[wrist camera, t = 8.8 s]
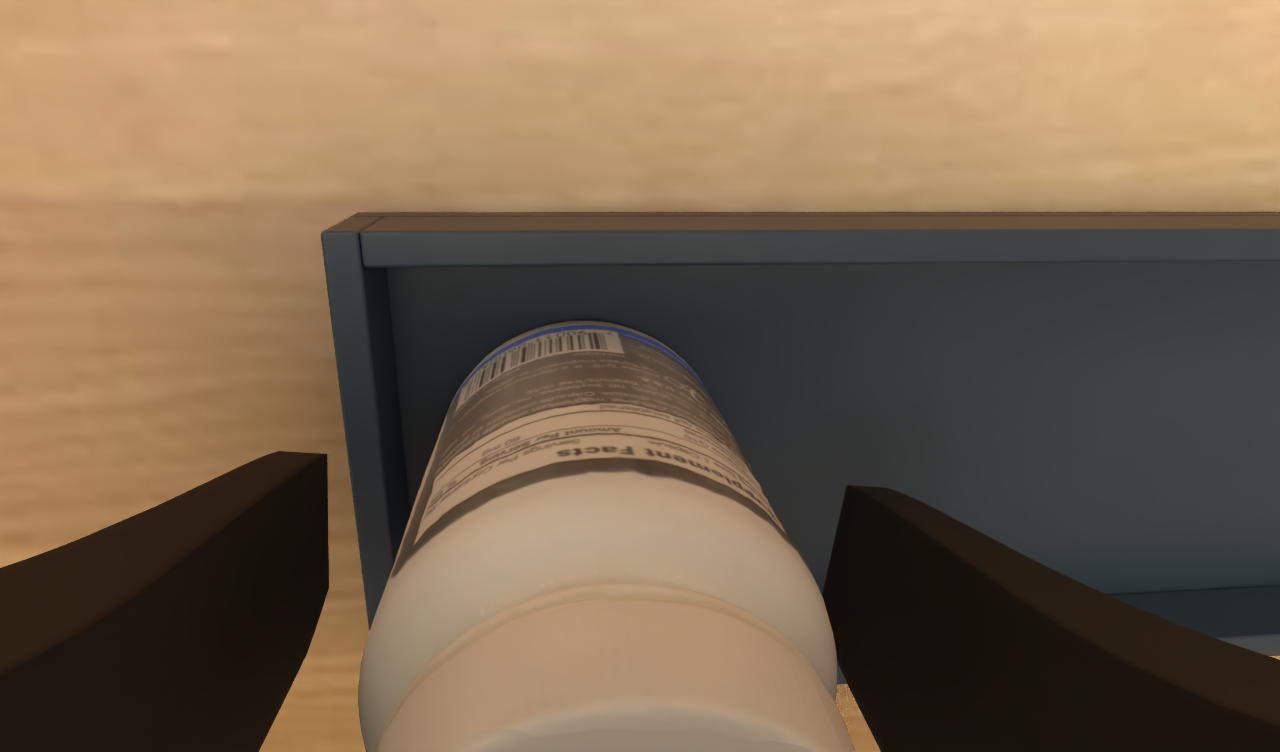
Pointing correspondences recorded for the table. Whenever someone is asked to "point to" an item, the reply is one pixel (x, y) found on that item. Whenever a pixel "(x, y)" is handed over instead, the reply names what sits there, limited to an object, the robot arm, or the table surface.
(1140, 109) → the table surface
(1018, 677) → the robot arm
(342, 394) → the tray
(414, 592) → the pill bottle
